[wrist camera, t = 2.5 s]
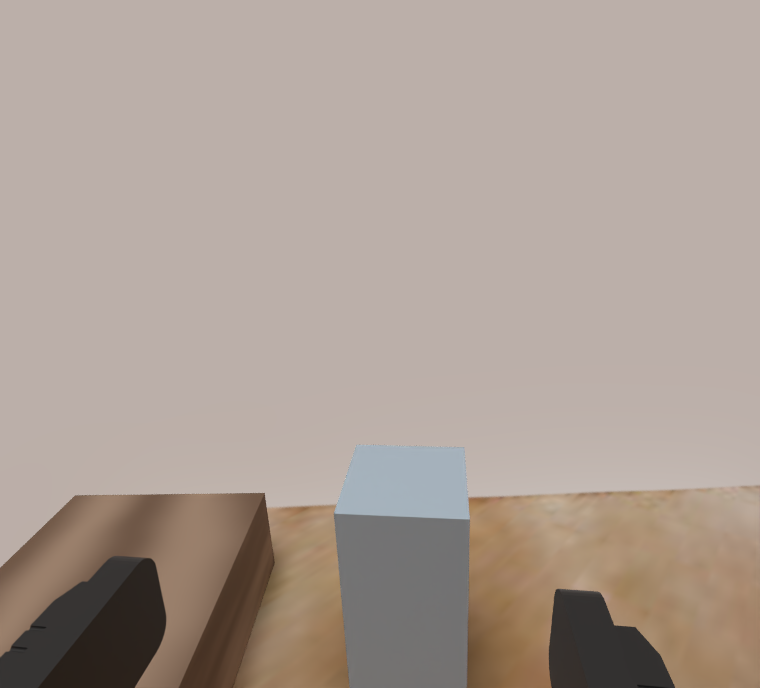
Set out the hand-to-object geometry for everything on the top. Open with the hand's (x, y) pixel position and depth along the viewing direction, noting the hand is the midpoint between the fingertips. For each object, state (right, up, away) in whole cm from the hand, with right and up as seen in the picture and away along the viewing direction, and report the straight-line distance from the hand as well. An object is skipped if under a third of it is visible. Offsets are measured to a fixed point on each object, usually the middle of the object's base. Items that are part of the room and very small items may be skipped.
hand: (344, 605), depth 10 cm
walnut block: (-13, -13, +19) cm, 26 cm away
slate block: (+2, -12, +16) cm, 21 cm away
